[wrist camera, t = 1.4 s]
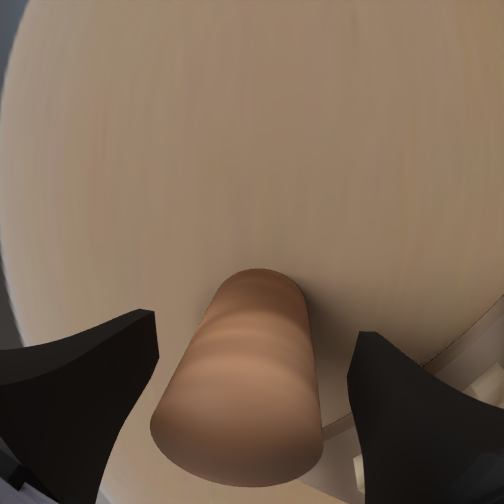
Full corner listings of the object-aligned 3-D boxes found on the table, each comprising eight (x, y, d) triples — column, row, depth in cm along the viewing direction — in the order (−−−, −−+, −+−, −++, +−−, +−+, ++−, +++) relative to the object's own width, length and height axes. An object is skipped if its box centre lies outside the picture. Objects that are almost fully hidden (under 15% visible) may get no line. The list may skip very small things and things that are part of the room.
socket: (523, 272, 10) (563, 296, 7) (538, 399, 12) (555, 421, 9) (270, 451, 15) (266, 496, 11) (376, 506, 17) (380, 534, 14)
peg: (264, 248, 11) (237, 359, 5) (325, 318, 12) (355, 455, 5) (194, 306, 12) (121, 425, 6) (255, 365, 13) (232, 496, 6)
